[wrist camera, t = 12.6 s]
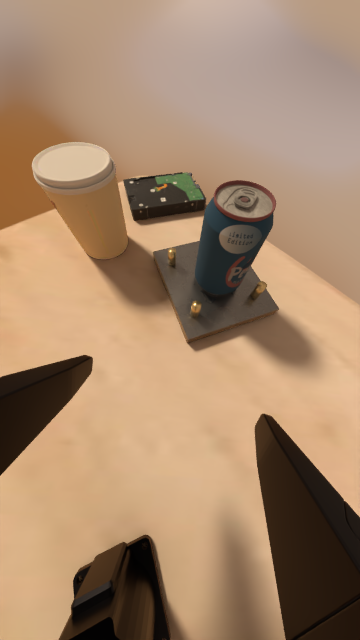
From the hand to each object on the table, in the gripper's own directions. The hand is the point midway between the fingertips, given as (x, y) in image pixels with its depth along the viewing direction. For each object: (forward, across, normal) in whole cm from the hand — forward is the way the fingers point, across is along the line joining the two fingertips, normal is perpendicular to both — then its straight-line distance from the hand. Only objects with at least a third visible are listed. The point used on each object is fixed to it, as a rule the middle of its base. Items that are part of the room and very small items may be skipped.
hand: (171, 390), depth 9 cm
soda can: (+21, -1, -4) cm, 22 cm away
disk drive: (+36, +14, -15) cm, 41 cm away
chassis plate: (+22, -1, -3) cm, 22 cm away
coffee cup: (+24, +19, -5) cm, 31 cm away
